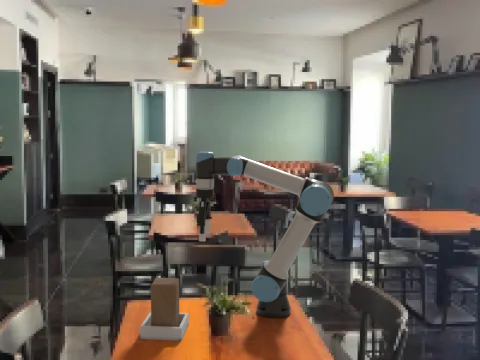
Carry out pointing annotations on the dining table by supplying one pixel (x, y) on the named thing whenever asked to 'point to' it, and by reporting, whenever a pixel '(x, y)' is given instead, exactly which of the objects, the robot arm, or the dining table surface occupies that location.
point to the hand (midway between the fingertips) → (204, 237)
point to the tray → (164, 329)
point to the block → (165, 302)
